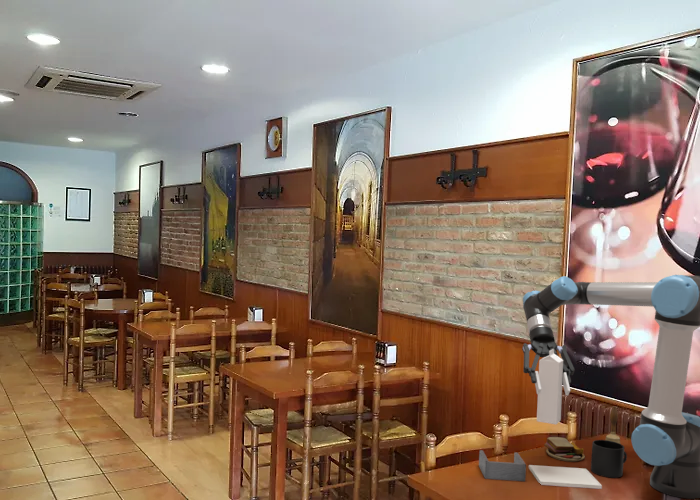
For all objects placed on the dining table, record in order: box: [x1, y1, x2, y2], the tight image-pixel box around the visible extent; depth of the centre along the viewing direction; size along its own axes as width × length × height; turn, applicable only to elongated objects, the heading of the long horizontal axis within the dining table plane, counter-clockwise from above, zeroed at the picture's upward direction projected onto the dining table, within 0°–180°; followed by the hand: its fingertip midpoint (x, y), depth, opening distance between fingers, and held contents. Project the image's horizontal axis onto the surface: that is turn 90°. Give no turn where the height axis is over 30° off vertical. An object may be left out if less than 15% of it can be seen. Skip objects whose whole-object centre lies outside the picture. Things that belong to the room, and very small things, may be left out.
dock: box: [478, 449, 527, 482], centre depth 196 cm, size 12×11×5 cm
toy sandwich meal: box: [544, 436, 586, 462], centre depth 217 cm, size 12×14×5 cm
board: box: [528, 464, 603, 490], centre depth 195 cm, size 18×14×1 cm
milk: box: [536, 349, 564, 425], centre depth 196 cm, size 6×6×22 cm
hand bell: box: [605, 405, 621, 444], centre depth 224 cm, size 8×8×16 cm
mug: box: [590, 439, 628, 479], centre depth 202 cm, size 9×12×9 cm
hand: (553, 392), depth 192 cm, fingers closed on milk, 8 cm apart
